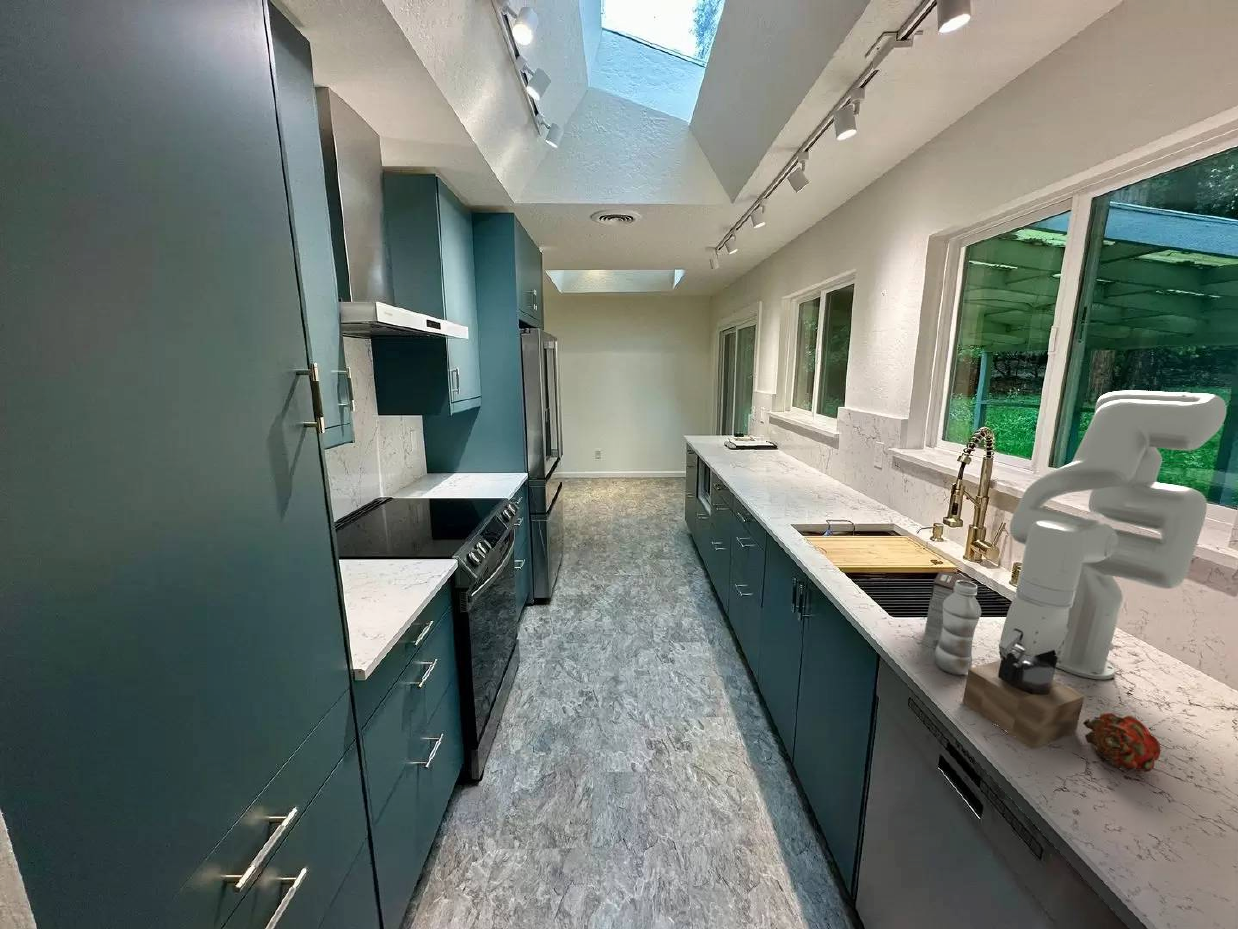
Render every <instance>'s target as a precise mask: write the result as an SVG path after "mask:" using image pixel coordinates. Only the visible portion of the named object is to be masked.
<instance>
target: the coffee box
mask: <svg viewBox="0 0 1238 929" xmlns="http://www.w3.org/2000/svg"><path fill="white" fill-rule="evenodd" d="M960 580H961V581H968V582H971V583H972V580H973V579H972V578H970V577H966V576H962V575H960V574H957V573H953V572H950V571H945V570H940V571H939V572H938V573H937V575H936V577H935V579H934V580H933V582H932V587H931V594H930V599H929V606H928V611H927V615H926V622H925V627H924V634H923V639H922V645H924V646H925V647H926V646H927V647H929V648H931V649H935V650H936V647H937V645H938V644H939V640H940V637H941V633H942V627H943V626H942V625H943V602H944V600H945V599H946V598H947V597H948V596H949V595H951V594H952V593H954V592H955V591H954V587H955V583H956V581H960Z"/></svg>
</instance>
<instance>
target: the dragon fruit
mask: <svg viewBox="0 0 1238 929" xmlns="http://www.w3.org/2000/svg"><path fill="white" fill-rule="evenodd" d="M1082 724H1083V725H1084V726H1085V728H1088V729H1089V730H1091V731H1090V732H1088V733H1086V734H1084V737H1085V741H1086V742H1087V743H1088V744H1090V745H1092V746H1093V747H1094V748H1096V752H1097V753H1098V755H1099V756H1101V757H1102V758H1105V760H1106V761H1107V762H1108V763H1110V764H1112V765H1113V766H1114V767H1116V768H1117V769H1119V770H1123V771H1124V772H1131V771H1134V770H1136V771H1143V772H1144V773H1146V772H1147V773H1148V772H1150V771H1152V770H1153V769H1154V767H1155V762H1156V761H1158V759H1159V757H1160V755H1161V752H1162V748H1161V745H1160V744H1161V743H1160V742H1159V741H1158V738H1156V736H1154V735H1152V734H1151V733H1150V731H1149V730H1148V728H1147V727H1146V726H1145V725H1144V724H1143V723H1142V722H1141V721H1139V720H1138V719H1137V718H1136V717H1133V716H1131V715H1126V716H1124V717H1121V716H1117V715H1116V714H1114V713H1112V712H1111V713H1101V714H1100V715H1099V716H1093V719H1092V720H1091V719H1090V718H1087V719H1085V720H1084V721H1083V723H1082Z"/></svg>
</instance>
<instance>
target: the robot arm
mask: <svg viewBox="0 0 1238 929" xmlns="http://www.w3.org/2000/svg"><path fill="white" fill-rule="evenodd" d="M1094 406H1095V407H1094V413H1093V414H1094V415H1093V417H1092V419H1091V421H1090V423H1089V425H1088V427H1087V428H1086V429H1087V430H1086V431H1085V433H1084V435H1083V438H1082V440H1081V442H1080V444H1079V445H1078V448H1077V450H1076V452H1075V454H1074V455H1073V456H1074V457H1073V459H1072V461H1071V462H1070V463H1068V464H1065V465H1064V466H1061V467H1059V468H1056V469H1054V470H1051V471H1049V472H1048V473H1046V474H1045V475H1043V476H1040V478H1038V479H1036V480H1035V481H1034V482H1033V483H1031V484H1030V485H1029V486H1028V487H1027V489H1025V491H1024V493H1023V494H1022V497H1021V498H1020V500H1019V502H1018V504H1017V506H1016V508H1015V510H1014V513H1013V515H1012V517H1011V520H1010V524H1009V534H1010V536H1011V537H1012V539H1013V540H1015V542H1017V543H1019V544H1021V545H1024V546H1025V547H1024V551H1023V552H1024V553H1023V556H1022V561H1021V566H1020V571H1019V574H1018V580H1017V584H1016V589H1015V593H1016V595H1014V597H1013V599H1012V602H1011V604H1010V605H1009V609H1008V611H1007V613H1006V614H1007V615H1006V617H1005V620H1004V623H1003V627H1002V632H1001V635H1000V642H999V643H998V649H999V652H998V654H999V660H1001V663H1000V668H999V673H998V677H999V678H1000V679H1002V680H1004V681H1005V682H1007V683H1009V684H1011V685H1012V686H1014V687H1019V685H1020V680H1021V676H1022V671H1023V667H1021V665H1022V663H1023V662H1024V660H1025V659H1026V657H1027V656H1036V657H1038V658H1040V659H1042V660H1044V661H1046V662H1047V663H1049V664H1050V665H1051V666H1052V667H1053V668H1054V670H1055V671H1056V668H1058V669H1060V670H1061V671H1064V672H1068V673H1069V674H1072V675H1076V676H1078V677H1083V678H1087V679H1091V680H1110V679H1112V678H1114V676H1115V673H1116V668H1115V667H1114V665H1113V664H1112V663H1110V662H1109V661H1108V657H1109V653H1110V651H1114V649H1115V646H1114V644H1113V643H1112V642H1113V639H1114V634H1115V630H1116V627H1117V624H1118V620H1119V616H1120V612H1121V608H1122V605H1123V600H1124V597H1123V592H1122V590H1121V587H1120V586H1119V584H1118V582H1117V580H1116V579H1115V578H1114V577H1116V578H1121V579H1125V580H1127V581H1128V580H1129V581H1131V582H1135V583H1138V584H1143V585H1147V586H1151V587H1155V588H1159V589H1163V590H1166V589H1167V590H1168V589H1169V590H1171V589H1175V588H1178V587H1180V585H1181V584H1182V583H1183V582H1184V580H1185V578H1186V576H1187V574H1188V571H1189V569H1190V567H1191V563H1192V561H1193V560H1192V559H1193V556H1194V553H1195V550H1196V547H1197V544H1198V541H1199V538H1200V536H1201V532H1202V529H1203V526H1204V522H1205V520H1206V519H1205V518H1206V515H1207V510H1208V509H1207V508H1208V504H1207V499H1206V497H1205V495H1204V494H1203V493H1202V492H1200V491H1198V490H1197V489H1194V488H1191V487H1189V486H1188V487H1187V486H1181V485H1175V484H1168V483H1162V482H1161V483H1160V482H1158V481H1157V478H1158V476H1159V473H1160V469H1161V467H1162V464H1163V458H1162V454H1161V452H1160V451H1159V450H1158V449H1165V450H1175V451H1194V450H1197V449H1199V448H1200V447H1202V446H1203V445H1205V444H1206V443H1207V442H1208V441H1209V440H1210V439H1211V438H1212V437H1214V436H1215V435H1216V434H1217V433H1218V432H1219V430H1220V429H1221V427H1223V424H1224V422H1225V419H1226V416H1227V404H1226V401H1224V399H1223V398H1222V397H1221V396H1219V395H1216V394H1212V393H1211V394H1210V393H1191V392H1170V391H1169V392H1168V391H1166V392H1165V391H1152V390H1151V391H1150V390H1149V391H1148V390H1119V391H1112V392H1107V393H1105V394H1103V395H1101V396H1100V397H1099V398H1098V399H1097V400H1096V404H1095V405H1094ZM1084 491H1091V492H1090V495H1089V500H1088V511H1089V513H1090V514H1092V515H1093V516H1094V517H1097V518H1099V519H1102V520H1106V521H1110V522H1114V523H1117V524H1122V525H1128V526H1132V527H1137V528H1141V529H1145V530H1146V529H1147V530H1152V531H1155V532H1157V533H1159V534H1160V535H1161V538H1158V537H1154V536H1150V535H1145V534H1140V533H1137V532H1132V531H1129V530H1123V529H1120V528H1114V527H1113V526H1112V525H1110V524H1108V523H1106V522H1104V521H1100V520H1097V519H1093V518H1090V517H1089V518H1088V517H1083V516H1078V515H1074V514H1070V513H1065V512H1061V511H1057V510H1052V509H1051V510H1050V509H1045V508H1043V507H1044V505H1045V504H1046V503H1048V502H1049V501H1051V500H1053V499H1055V498H1057V497H1059V496H1062V495H1067V494H1071V493H1077V492H1084ZM1016 645H1017V646H1016ZM1020 647H1021V648H1020ZM1012 651H1016V652H1018V653H1020V655H1019V656H1018V658H1017V659H1016V657H1015V656H1014V654H1012V653H1011V652H1012Z"/></svg>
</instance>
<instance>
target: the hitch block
mask: <svg viewBox="0 0 1238 929" xmlns="http://www.w3.org/2000/svg"><path fill="white" fill-rule="evenodd" d="M1000 663H1001V659H998V660H995V661H992V662H988V663H985V664H981V665H978V666H975V667H971V668H970V669H969V670H968V672H967V676H966V681H965V686H964V690H963V691H964V692H963V696H962V701H961V703H962V702H963V703H962V704H964V705H965V706H966V707H968V706H969V707H968V708H970V709H971V708H972V709H971V710H973V711H975V712H976V713H977V712H978V713H977V714H978V715H980V714H981V715H980V716H981V717H983V718H984V719H986V718H987V719H986V720H988V721H989V720H990V721H989V722H990V723H992V724H994V725H995V724H996V725H995V726H997V725H998V726H999V727H998V726H997V727H998V728H999V729H1001V728H1002V730H1003V731H1004V730H1006V731H1007V732H1008V733H1007V732H1006V731H1005V732H1006V733H1007V734H1008V735H1010V734H1011V735H1010V736H1012V737H1013V736H1015V737H1016V738H1017V739H1016V738H1015V737H1014V738H1015V739H1016V740H1018V741H1019V740H1020V741H1019V742H1021V743H1022V742H1023V743H1022V744H1024V745H1025V744H1026V745H1025V746H1027V747H1028V748H1030V749H1031V750H1035V749H1037V748H1039V747H1041V746H1044V745H1046V744H1049V743H1052V742H1054V741H1057V740H1059V739H1061V738H1064V737H1067V736H1069V735H1073V734H1074V733H1076V732H1077V730H1078V729H1077V728H1078V724H1079V720H1080V717H1081V713H1082V709H1083V705H1084V702H1085V701H1084V700H1085V695H1084V694H1081V693H1080V692H1078V691H1076V690H1074V689H1071V688H1070V687H1069V686H1066V685H1064V684H1063V683H1061V682H1058V681H1057V680H1055V679H1053V681H1052V685H1051V689H1050V693H1049V694H1047V695H1035V694H1033V695H1031V694H1029V693H1027V692H1024V691H1021V690H1019V689H1017V688H1015V687H1013V686H1011V685H1009V684H1008V683H1007V682H1005V681H1004V680H1002V679H1000V678H999V677H998V673H999V668H1000Z"/></svg>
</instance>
